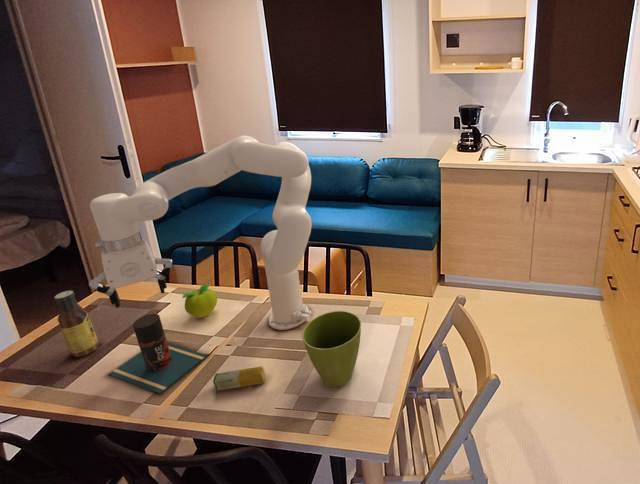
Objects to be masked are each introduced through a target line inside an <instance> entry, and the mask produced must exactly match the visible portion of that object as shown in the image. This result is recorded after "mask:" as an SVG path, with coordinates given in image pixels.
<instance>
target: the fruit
mask: <svg viewBox="0 0 640 484" xmlns="http://www.w3.org/2000/svg"><path fill="white" fill-rule="evenodd" d="M210 286H211V283H206V284H203V285H201V286H200V288H196V289H194V290H192V291H189V292H185V293H183V295H182V297H181V298H182V299H185V301H184V310H185V311H186V313H187V314H188V315H190V316H192V317H194V318H205V317H207V316H209V315H210V314H212V313H213V311H214V310H215V308H216V306H217V303H218V294H217V293H216V292H215V291H214V290H212V289H209V287H210Z"/></svg>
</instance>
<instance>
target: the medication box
mask: <svg viewBox="0 0 640 484" xmlns="http://www.w3.org/2000/svg"><path fill="white" fill-rule="evenodd" d="M265 381H266V372H265V369H264V366H256V367H249V368H242V369H237V370H230V371H222V372H216V373H215V374H214V377H213V381H212V383H213V386H214V388H215V390H216V392H218V391H223V390H224V391H225V390H229V389H235V388H242V387H249V386H256V385H261V384H262V385H263V384H265Z"/></svg>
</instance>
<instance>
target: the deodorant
mask: <svg viewBox="0 0 640 484" xmlns="http://www.w3.org/2000/svg"><path fill="white" fill-rule="evenodd" d="M132 328H133V331H134V334H135V337H136V340H137V343H138V346H139V347H138V348H139V350H140V352H141V353H142V356H143V359H144V362H145V366H146V369H147V371H148V372H157V371H160V370H162V369H164V368H166V367H167V366H168V365H169V364H170V363H171V362H172V358H171V354H170V351H169V347H168V344H167V343H168V341H167V337H166V334H165V329H164V327H163V323H162V320H161V317H160V314H158V313H149V314H145V315H142V316H141V317H138V318H137V319H135V321H134V322H133V323H132Z"/></svg>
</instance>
